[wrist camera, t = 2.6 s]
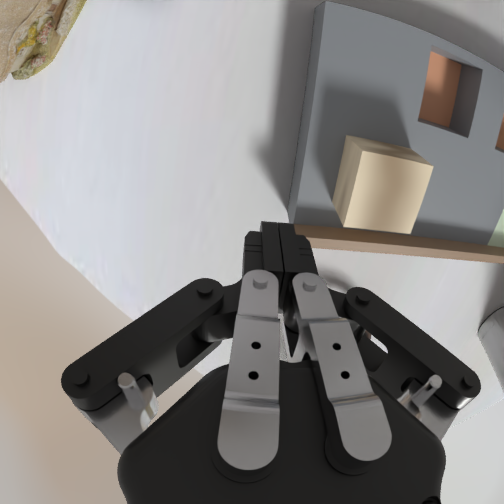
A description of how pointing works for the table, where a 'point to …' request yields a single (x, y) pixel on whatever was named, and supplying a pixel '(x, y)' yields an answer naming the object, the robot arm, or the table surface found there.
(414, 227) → the board
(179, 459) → the robot arm
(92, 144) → the table surface
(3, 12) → the ceramic model
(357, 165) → the maple block
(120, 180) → the table surface
